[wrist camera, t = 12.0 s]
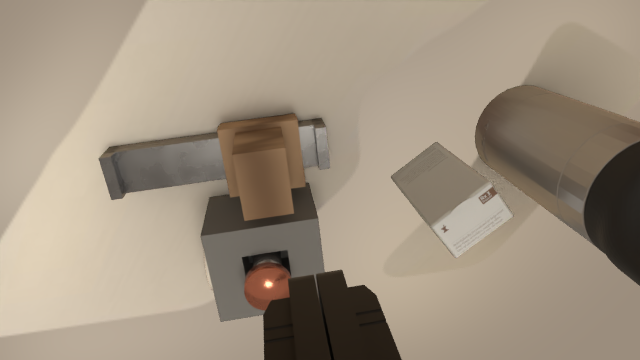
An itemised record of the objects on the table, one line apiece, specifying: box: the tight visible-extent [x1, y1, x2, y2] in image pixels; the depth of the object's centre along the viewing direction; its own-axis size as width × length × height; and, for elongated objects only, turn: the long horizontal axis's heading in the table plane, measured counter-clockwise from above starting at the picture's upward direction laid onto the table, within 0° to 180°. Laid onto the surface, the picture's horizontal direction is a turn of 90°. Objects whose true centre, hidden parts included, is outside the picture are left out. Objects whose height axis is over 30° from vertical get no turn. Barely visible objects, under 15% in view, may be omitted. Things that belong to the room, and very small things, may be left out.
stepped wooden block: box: [217, 114, 306, 221], centre depth 41 cm, size 7×6×9 cm
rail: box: [99, 118, 330, 200], centre depth 43 cm, size 20×4×3 cm, turn 96°
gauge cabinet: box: [201, 183, 324, 322], centre depth 45 cm, size 10×9×8 cm
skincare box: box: [391, 142, 514, 258], centre depth 43 cm, size 6×4×12 cm
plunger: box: [244, 251, 291, 310], centre depth 42 cm, size 4×4×7 cm
